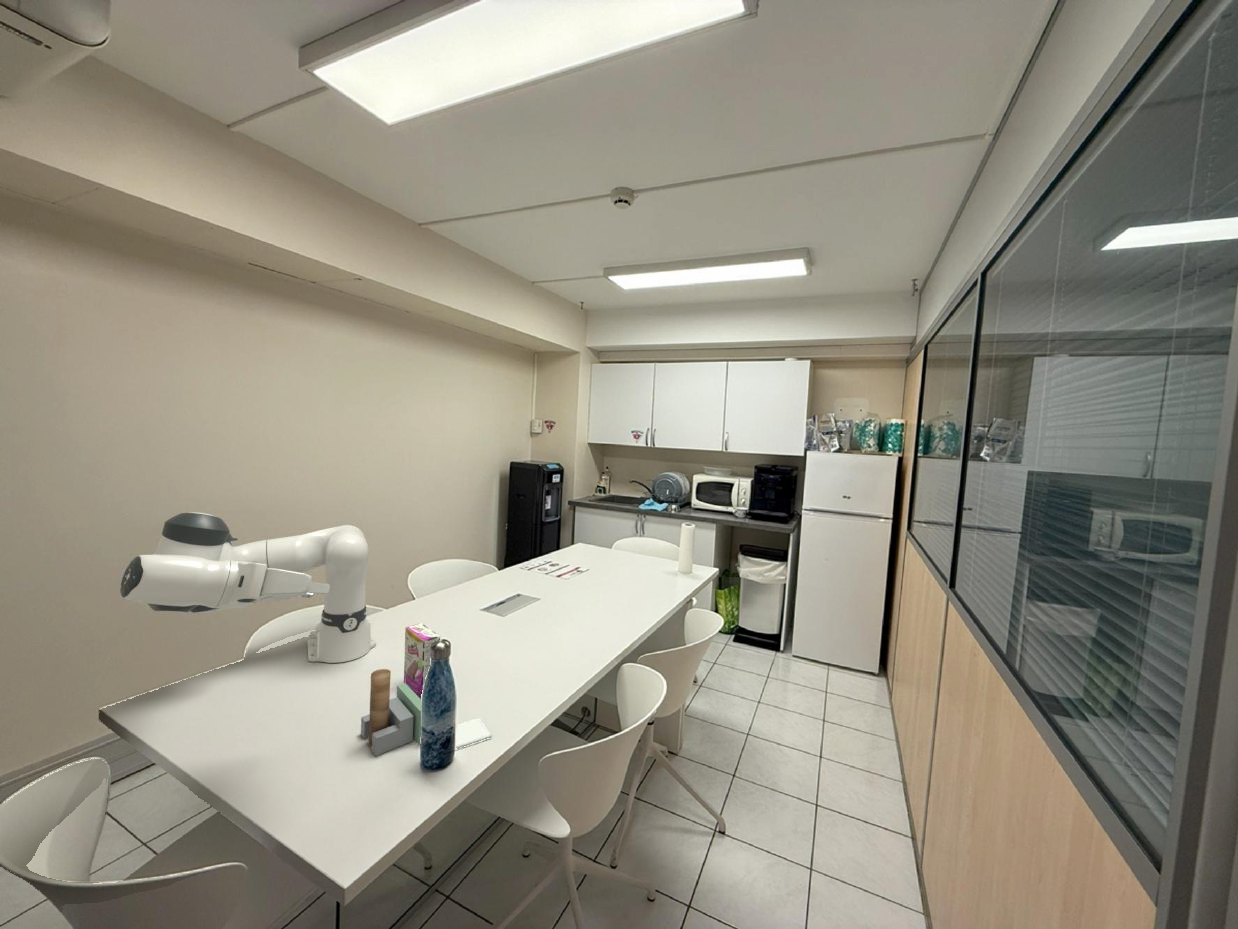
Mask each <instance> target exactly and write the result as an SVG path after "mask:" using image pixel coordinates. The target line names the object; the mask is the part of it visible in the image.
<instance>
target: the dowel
mask: <svg viewBox="0 0 1238 929" xmlns="http://www.w3.org/2000/svg"><path fill="white" fill-rule="evenodd" d="M391 673H392V672H391V670H390V669H387V668H382V669H377V670H374V671H373V672H371V674H370V693H369V694H370V696H369V714H370V717H369V737H368V746H371V747H372V733H374V732H377V731H379V730H382V729H385V728H388V725H389V700H390V699H391V698H390V697H391V696H390V695H391V694H390V693H391Z"/></svg>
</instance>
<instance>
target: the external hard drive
mask: <svg viewBox="0 0 1238 929" xmlns="http://www.w3.org/2000/svg"><path fill="white" fill-rule="evenodd" d="M456 725H457V729H456V748H457V749H459V748H460V747H464V746H467V745H470V744H472V743H475V742H479V741H481V740H484V739H487V738H491V739H492V734H491V732H490V731H489V730H488V728H487V727H486V725H485V723H484V722H483V721H482V719H481V718H480V717H478V718H473V719H471V720H468V721H464V722H461V723H458V724H456ZM459 750H460V749H459Z"/></svg>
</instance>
